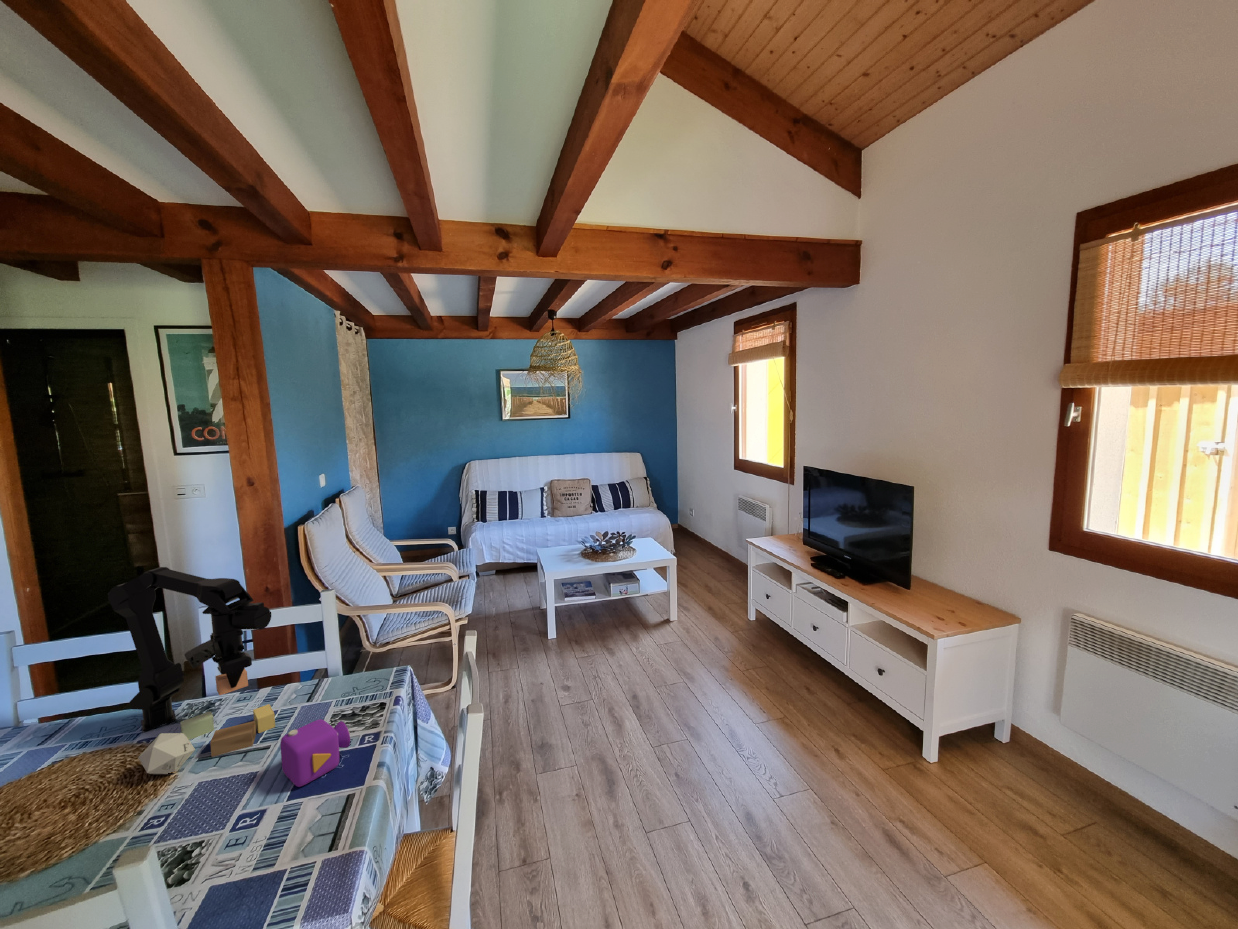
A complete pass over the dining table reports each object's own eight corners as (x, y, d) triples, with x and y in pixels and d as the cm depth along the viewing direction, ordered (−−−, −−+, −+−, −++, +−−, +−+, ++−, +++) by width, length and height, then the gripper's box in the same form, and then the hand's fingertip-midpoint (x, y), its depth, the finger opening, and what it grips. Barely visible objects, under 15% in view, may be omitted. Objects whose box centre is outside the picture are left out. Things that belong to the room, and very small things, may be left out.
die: (148, 793, 105) (181, 750, 107) (119, 769, 106) (152, 727, 109) (181, 778, 113) (211, 738, 116) (154, 757, 114) (184, 717, 117)
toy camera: (360, 754, 116) (358, 716, 115) (303, 794, 104) (300, 751, 103) (331, 742, 121) (329, 704, 120) (274, 778, 108) (271, 737, 108)
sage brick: (181, 736, 123) (180, 722, 123) (211, 725, 128) (210, 711, 127) (183, 742, 121) (182, 727, 120) (214, 730, 125) (213, 716, 125)
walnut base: (216, 745, 120) (215, 730, 119) (256, 735, 124) (255, 720, 123) (211, 757, 115) (210, 742, 115) (252, 746, 119) (251, 731, 119)
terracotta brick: (216, 690, 126) (215, 676, 125) (244, 681, 130) (243, 667, 130) (219, 695, 123) (218, 681, 123) (248, 685, 128) (246, 671, 128)
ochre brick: (258, 733, 124) (257, 719, 124) (254, 723, 128) (253, 709, 128) (275, 727, 127) (274, 713, 126) (270, 717, 131) (269, 704, 130)
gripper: (180, 628, 125) (186, 684, 127) (191, 651, 113) (198, 712, 115) (233, 615, 134) (238, 668, 135) (249, 634, 121) (254, 692, 123)
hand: (232, 684), depth 127 cm, fingers closed on terracotta brick, 4 cm apart
